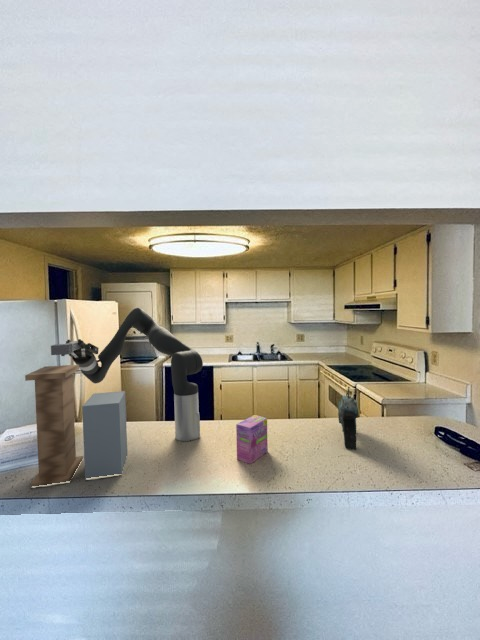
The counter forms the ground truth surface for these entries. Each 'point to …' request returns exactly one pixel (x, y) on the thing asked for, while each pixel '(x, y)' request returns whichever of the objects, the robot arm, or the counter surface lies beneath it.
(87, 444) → the slate block
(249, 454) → the box
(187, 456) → the counter surface
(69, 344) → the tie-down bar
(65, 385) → the walnut stand
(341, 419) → the dark grey upright piece
